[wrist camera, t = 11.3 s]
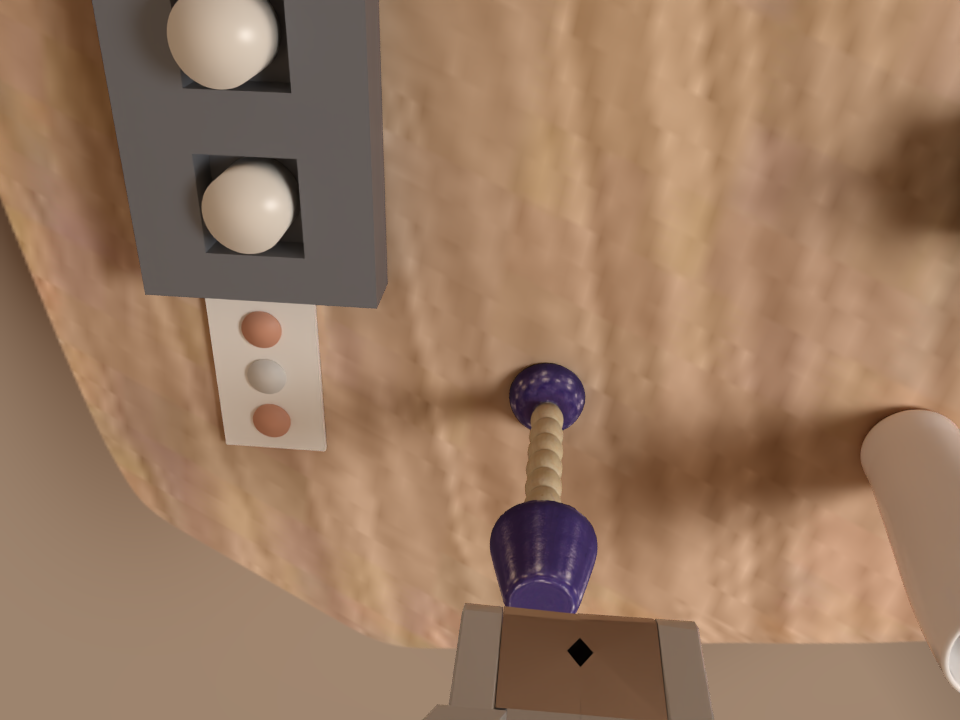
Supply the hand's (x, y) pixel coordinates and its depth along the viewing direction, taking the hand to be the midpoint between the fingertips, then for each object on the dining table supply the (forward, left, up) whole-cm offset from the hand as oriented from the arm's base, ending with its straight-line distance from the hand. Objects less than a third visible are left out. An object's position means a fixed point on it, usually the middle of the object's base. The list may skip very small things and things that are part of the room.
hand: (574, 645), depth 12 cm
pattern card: (+17, -16, -34) cm, 41 cm away
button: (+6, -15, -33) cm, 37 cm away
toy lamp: (+17, 0, -34) cm, 38 cm away
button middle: (-2, -15, -32) cm, 35 cm away
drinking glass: (+19, +20, -34) cm, 44 cm away
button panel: (-2, -15, -34) cm, 37 cm away
